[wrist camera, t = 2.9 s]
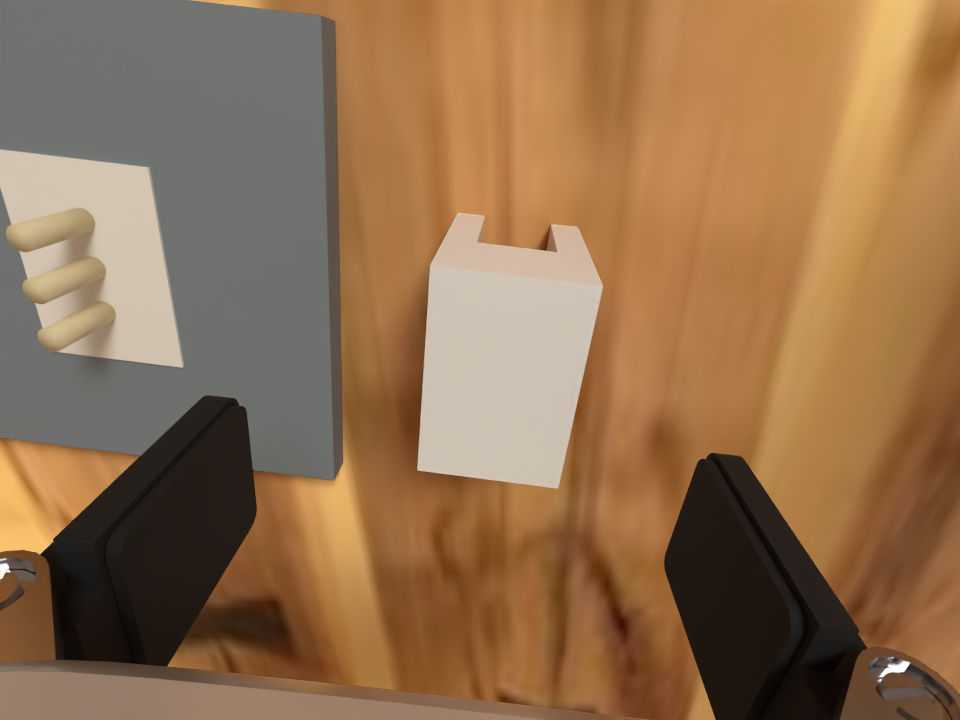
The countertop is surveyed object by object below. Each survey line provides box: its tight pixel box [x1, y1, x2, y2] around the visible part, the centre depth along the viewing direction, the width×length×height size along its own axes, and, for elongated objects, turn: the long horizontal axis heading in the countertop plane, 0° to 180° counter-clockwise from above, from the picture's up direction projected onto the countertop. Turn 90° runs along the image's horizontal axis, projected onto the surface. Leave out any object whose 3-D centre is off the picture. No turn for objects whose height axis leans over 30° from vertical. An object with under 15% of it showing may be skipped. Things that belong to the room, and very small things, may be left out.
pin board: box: [0, 0, 343, 480], centre depth 17 cm, size 16×16×4 cm
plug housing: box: [417, 213, 603, 488], centre depth 16 cm, size 4×6×6 cm, turn 174°
